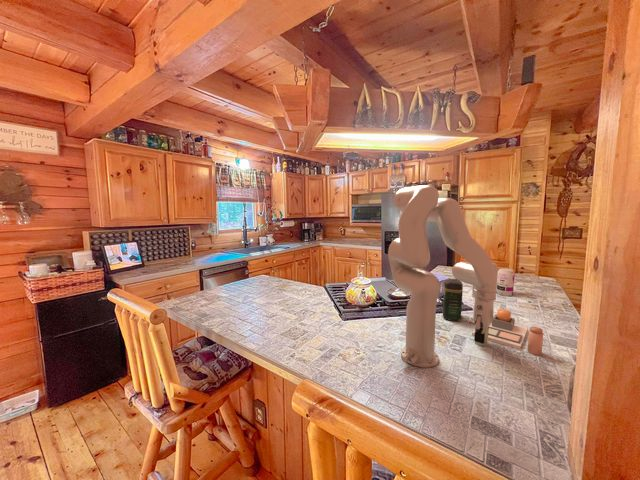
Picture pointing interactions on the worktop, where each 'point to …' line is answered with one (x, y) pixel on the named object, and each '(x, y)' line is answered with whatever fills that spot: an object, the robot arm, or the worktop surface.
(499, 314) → the button
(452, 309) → the coffee jar
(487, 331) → the cylinder
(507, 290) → the supplement can
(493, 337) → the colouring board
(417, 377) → the worktop surface
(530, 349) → the peach cylinder
